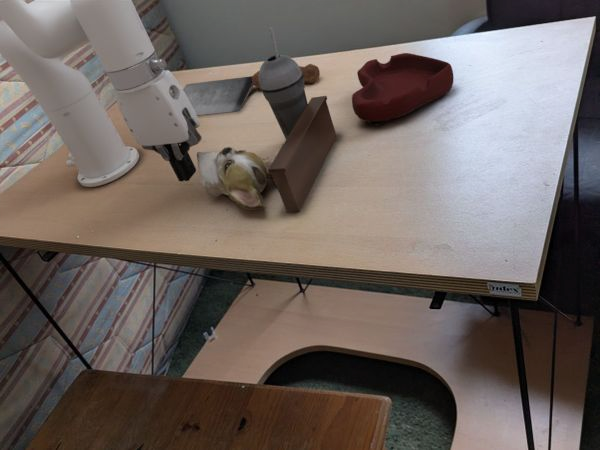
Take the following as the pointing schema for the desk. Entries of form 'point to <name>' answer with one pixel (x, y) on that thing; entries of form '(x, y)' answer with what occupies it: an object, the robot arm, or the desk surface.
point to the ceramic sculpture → (235, 175)
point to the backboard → (303, 154)
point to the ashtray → (399, 86)
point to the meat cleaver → (231, 92)
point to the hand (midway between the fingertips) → (188, 176)
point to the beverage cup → (283, 88)
